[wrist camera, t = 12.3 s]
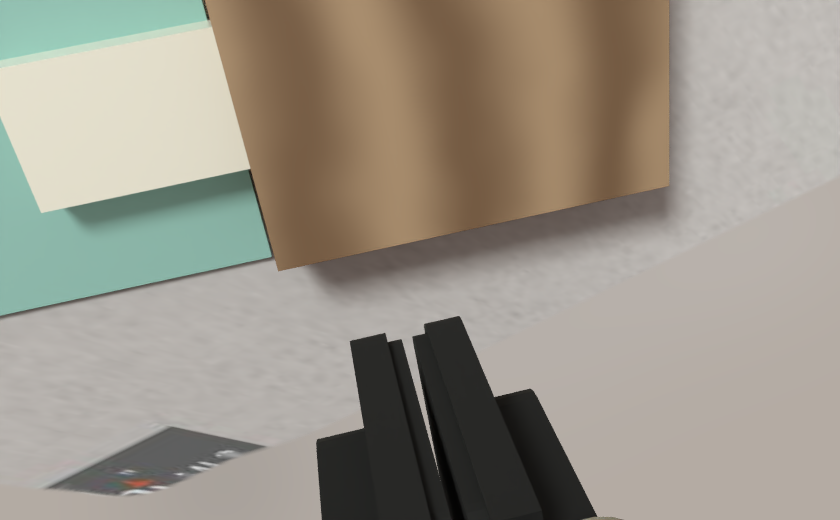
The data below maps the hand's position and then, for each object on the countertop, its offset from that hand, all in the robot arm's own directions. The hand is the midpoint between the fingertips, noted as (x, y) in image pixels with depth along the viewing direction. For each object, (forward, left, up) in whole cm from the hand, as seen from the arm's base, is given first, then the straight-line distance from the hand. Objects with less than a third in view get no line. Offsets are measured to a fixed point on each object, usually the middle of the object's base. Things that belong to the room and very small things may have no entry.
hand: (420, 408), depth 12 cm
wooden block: (-5, +1, -25) cm, 26 cm away
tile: (+8, +1, -25) cm, 26 cm away
